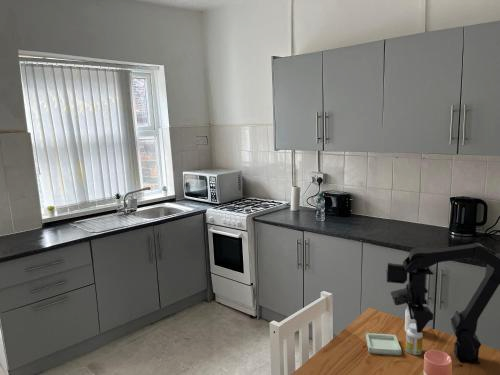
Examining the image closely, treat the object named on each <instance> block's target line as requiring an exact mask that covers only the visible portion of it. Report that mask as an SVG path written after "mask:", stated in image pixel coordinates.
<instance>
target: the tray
mask: <svg viewBox="0 0 500 375" xmlns="http://www.w3.org/2000/svg"><path fill="white" fill-rule="evenodd" d="M365 341H366V345H367V346H366V347H367V349H368V353H369V354H374V355H375V354H378V355H388V356H389V355H390V356H402V348H401V345H400V343H399V341H398V338H397V334H386V333H374V332H373V333H371V332H370V333H369V332H366V333H365Z"/></svg>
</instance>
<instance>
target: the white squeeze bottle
mask: <svg viewBox="0 0 500 375" xmlns="http://www.w3.org/2000/svg"><path fill="white" fill-rule="evenodd" d="M404 315H405V317H404V320H405V321H404V331H405V332H407V330H408V329H409V324H412V323H414V324H416V321H415V319H411V318H410V314H409V309H408V307H406V309H405V314H404Z"/></svg>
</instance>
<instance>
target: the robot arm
mask: <svg viewBox="0 0 500 375" xmlns="http://www.w3.org/2000/svg"><path fill="white" fill-rule="evenodd" d="M475 258H478V259H480V260H482V262H484V263H486V266H485V273H484V277H483V278H482V281H481V282H480V284H479V285H478V287H477V289H476V291H475V292H474V294H473V295H472V297H471V299H470V300H469V302H468V304H467V305H466V307H465V309H464V310H463V311H461V312H459V311H458V310H455V312H454V315H453V316H452V317H451V318H450V322H451V323H450V326H451V329H452V330H453V333H454V335H455V337H456V339H455V341H456V342H455V343H454V345H453V346H454V350H453V353H454V355H455V357H456V358H457V360H458V361H459V362H460V363H463V364H477V365H480V364H481V361H480V360H479V352H480V347H482V342H481V341H480V339H479V337H478V335H477V334H476V332H477V328H478V321H479V319H480V317H481V315H482V314H483V313H484V310H485V309H486V307H487V305H488V304H489V302H490V300H491V299H492V298H493V296H494V295H495V293H496V291H497V289H499V288H498V287H499V286H500V253H497V252H495V251H493V250H492V249H489V248H487V247H486V246H483V245H482V244H481V243H479V242H474V243H469V244H463V245H462V244H461V245H455V246H447V247H441V248H430V247H413V248H411V250H410V251H409V253H408V256H407V257H406V258H405V259H404V260H403V261H402V264H399V263H398V264H397V263H391V262H388V263H387V266H386V271H385V275H386V283H387V284H388V283H391V284H401V285H402V284H403V285H405V288H401V289H397V290H394V291H391V292H390V295H391V298H392V301H393V303H394V306H401V305H402V306H403V305H404V304H406V305H407V308H408V309H409V314H410V318H411V319H415V321H416V328H417V332H418V333H421V332H422V331H423V330H424V329H425V327H426V326H427V325H428V323H429V322H430V321H433V320H434V313H433V311H432V310H431V309H430V308H429V306H424V305H428V300H427V298H426V297H427V294H428V293H429V290H428V288H427V279H428V275H429V276H430V275H431V276H433V275H434V272H433V270H432V268H431V267H432V266H434V265H436V264H439V263H444V262H445V263H446V262H451V261H458V260H465V259H466V260H467V259H475ZM406 282H408V283H406Z"/></svg>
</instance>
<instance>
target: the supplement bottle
mask: <svg viewBox="0 0 500 375" xmlns="http://www.w3.org/2000/svg"><path fill="white" fill-rule="evenodd" d="M405 332H406V331H405ZM405 334H406V335H405V351H406V352H408V353H409V354H411V355H415V356H417V355H420V354H422V352H423V338H424V337H423V332H422V331H421V333H418V332H417V328H416V324H414V323H412V324H409V329H408V330H407V332H406V333H405Z"/></svg>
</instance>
